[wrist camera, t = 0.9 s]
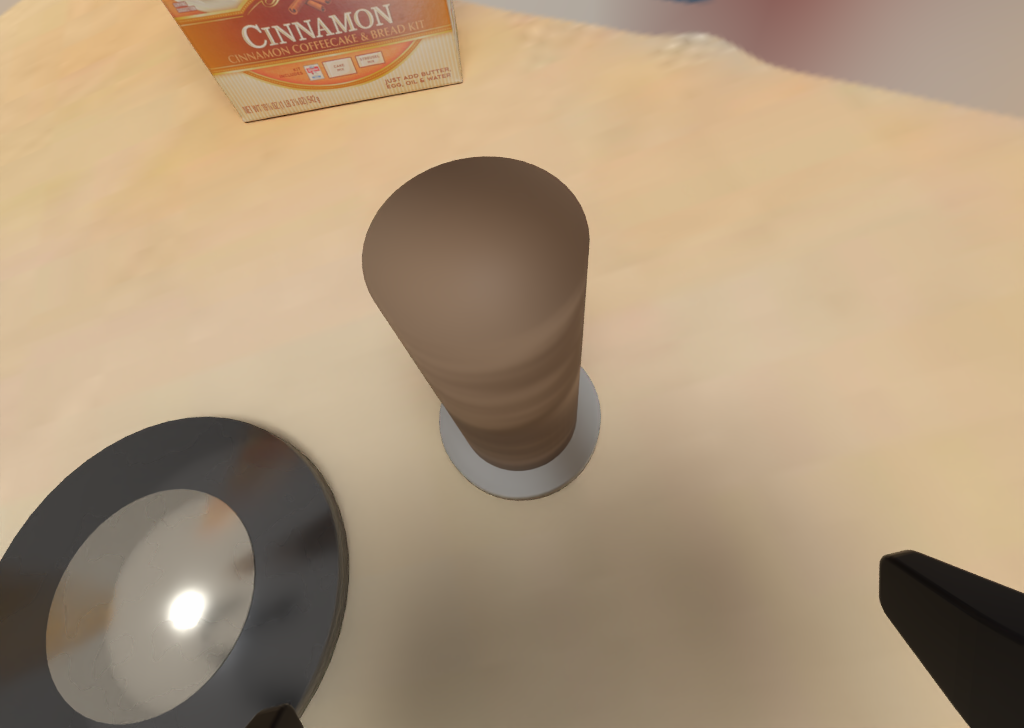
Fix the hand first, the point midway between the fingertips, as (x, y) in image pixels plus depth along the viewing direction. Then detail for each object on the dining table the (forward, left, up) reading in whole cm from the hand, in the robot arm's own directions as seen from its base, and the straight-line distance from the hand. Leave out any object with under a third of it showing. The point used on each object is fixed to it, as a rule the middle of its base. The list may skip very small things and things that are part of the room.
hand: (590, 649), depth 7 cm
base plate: (-10, +13, -13) cm, 21 cm away
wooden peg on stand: (+5, +7, -13) cm, 15 cm away
